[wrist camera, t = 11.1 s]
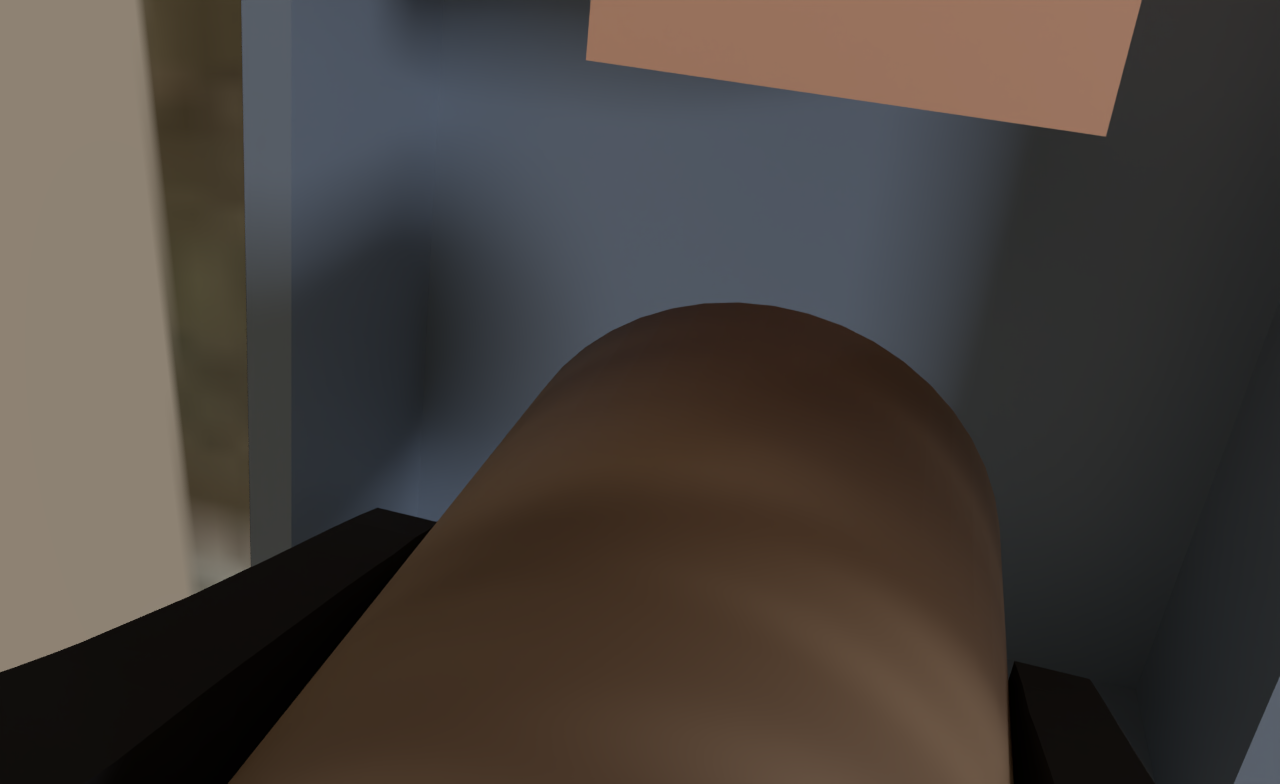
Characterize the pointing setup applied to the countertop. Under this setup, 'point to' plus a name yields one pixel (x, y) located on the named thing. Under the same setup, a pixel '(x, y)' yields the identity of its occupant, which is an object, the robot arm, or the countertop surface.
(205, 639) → the robot arm
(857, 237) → the slate tote
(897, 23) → the terracotta cube
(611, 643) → the walnut cylinder
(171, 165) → the countertop surface
